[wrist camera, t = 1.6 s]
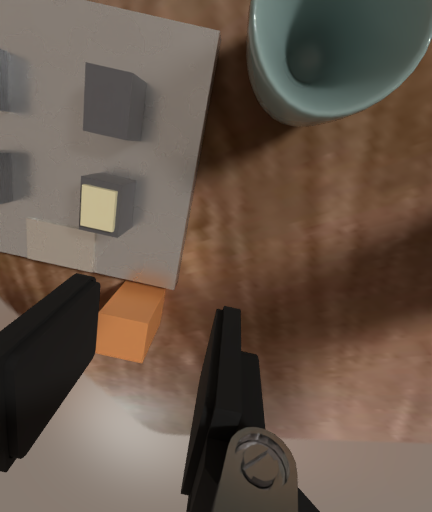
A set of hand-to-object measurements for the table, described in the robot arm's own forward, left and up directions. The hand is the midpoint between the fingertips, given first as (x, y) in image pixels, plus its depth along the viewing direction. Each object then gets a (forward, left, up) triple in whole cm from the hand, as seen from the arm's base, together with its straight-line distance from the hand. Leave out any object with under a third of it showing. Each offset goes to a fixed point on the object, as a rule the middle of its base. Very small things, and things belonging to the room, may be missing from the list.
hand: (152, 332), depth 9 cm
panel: (+11, -3, -17) cm, 20 cm away
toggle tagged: (+8, 0, -16) cm, 17 cm away
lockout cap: (+5, +10, -17) cm, 20 cm away
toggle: (+8, -7, -16) cm, 19 cm away
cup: (-4, -12, -17) cm, 22 cm away
